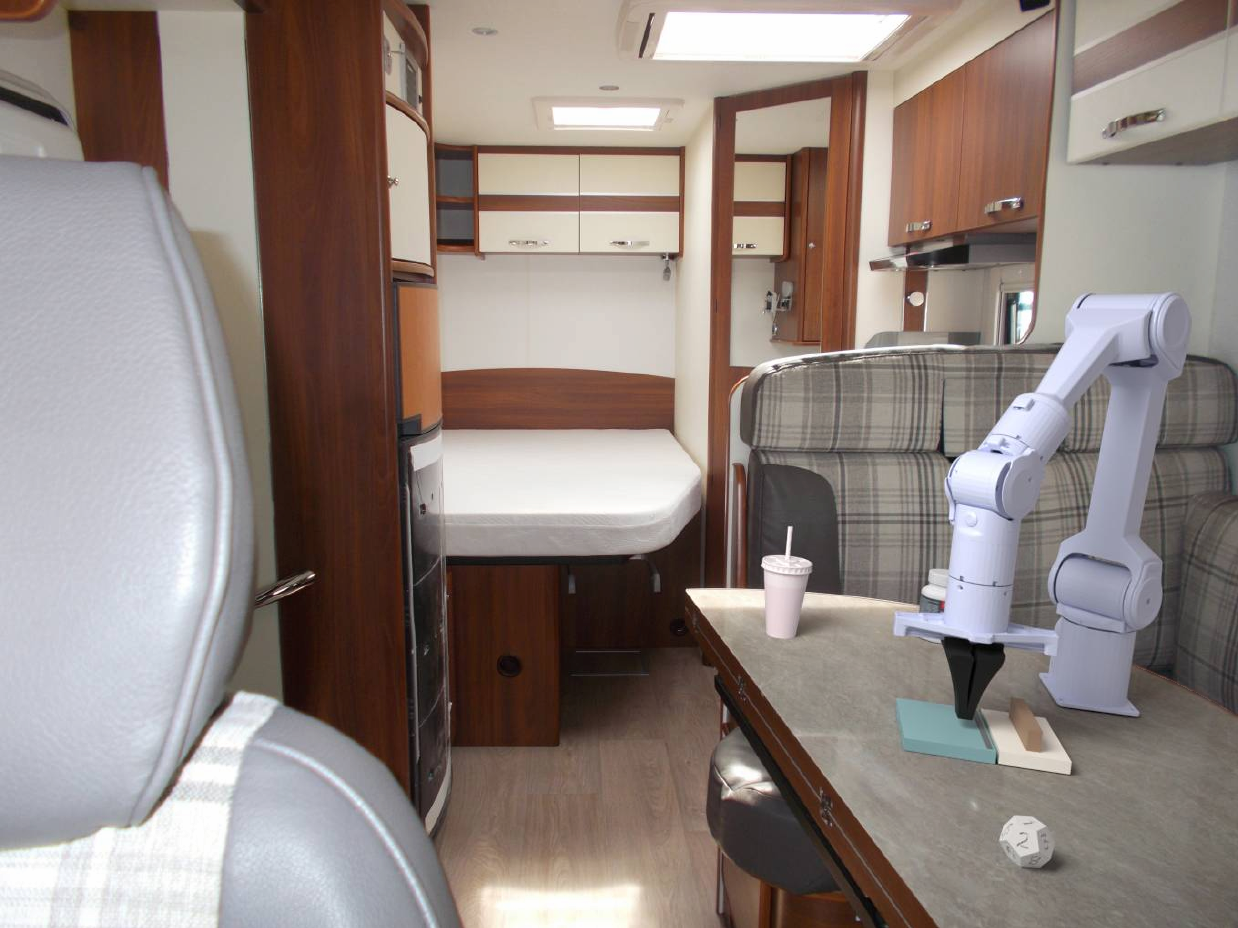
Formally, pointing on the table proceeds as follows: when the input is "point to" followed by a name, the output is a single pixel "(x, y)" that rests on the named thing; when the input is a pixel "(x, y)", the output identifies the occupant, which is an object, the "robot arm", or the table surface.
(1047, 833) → the game die
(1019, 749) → the cream block with bar
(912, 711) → the teal flat block
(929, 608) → the pill bottle
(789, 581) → the smoothie
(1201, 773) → the table surface
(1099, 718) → the table surface
